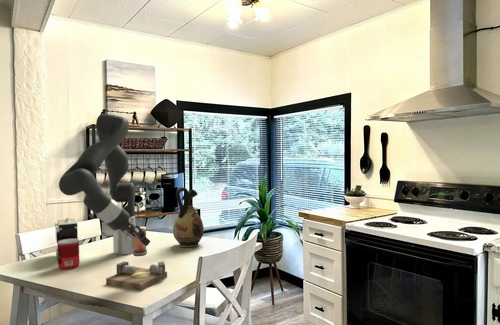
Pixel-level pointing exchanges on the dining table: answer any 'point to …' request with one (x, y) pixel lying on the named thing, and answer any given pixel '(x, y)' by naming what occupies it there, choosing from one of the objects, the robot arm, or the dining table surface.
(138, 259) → the dining table surface
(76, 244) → the canned food
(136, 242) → the sleeve
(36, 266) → the dining table surface
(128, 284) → the shaft bench
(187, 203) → the ceramic jug
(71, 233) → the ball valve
